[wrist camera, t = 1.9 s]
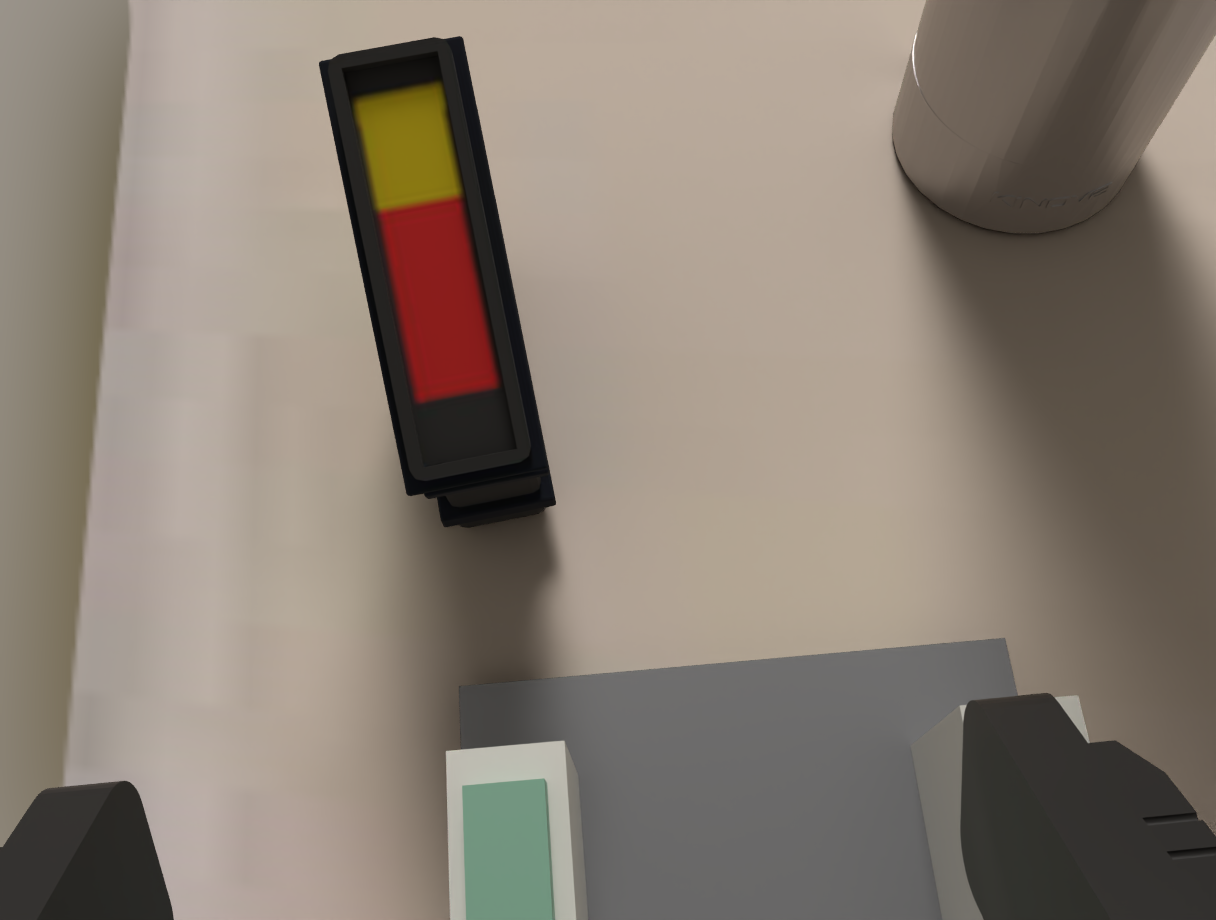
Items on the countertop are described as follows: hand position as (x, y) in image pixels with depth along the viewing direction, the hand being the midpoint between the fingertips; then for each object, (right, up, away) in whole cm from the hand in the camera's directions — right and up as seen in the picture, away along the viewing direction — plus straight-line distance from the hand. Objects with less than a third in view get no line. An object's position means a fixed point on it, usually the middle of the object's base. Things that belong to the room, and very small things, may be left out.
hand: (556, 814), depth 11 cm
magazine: (-4, +5, +30) cm, 31 cm away
